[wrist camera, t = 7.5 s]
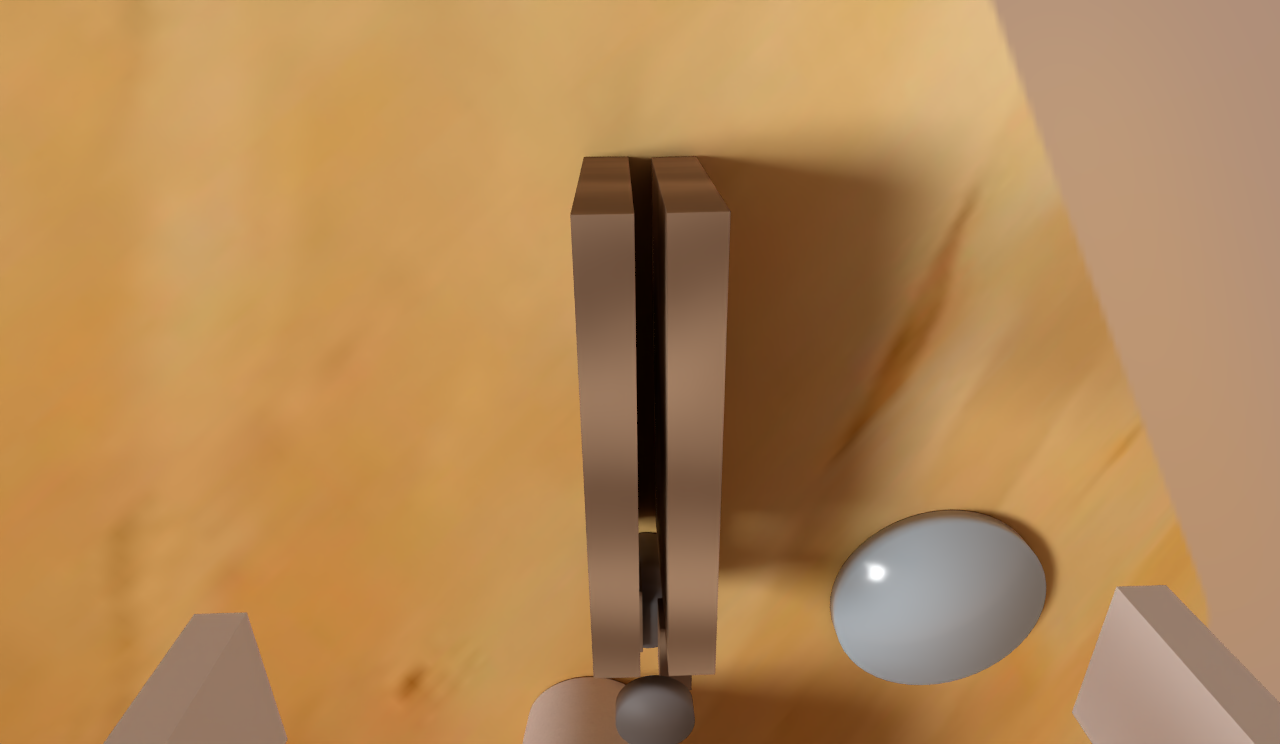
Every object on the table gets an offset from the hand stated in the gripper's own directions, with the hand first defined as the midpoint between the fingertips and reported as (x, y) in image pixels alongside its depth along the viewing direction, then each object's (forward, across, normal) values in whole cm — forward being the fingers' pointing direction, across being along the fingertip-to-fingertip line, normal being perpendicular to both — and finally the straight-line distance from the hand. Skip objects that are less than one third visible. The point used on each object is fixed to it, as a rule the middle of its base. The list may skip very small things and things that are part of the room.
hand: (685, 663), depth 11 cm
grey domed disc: (+19, +14, -16) cm, 29 cm away
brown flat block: (+19, 0, -5) cm, 20 cm away
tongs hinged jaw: (+19, +1, -5) cm, 19 cm away
